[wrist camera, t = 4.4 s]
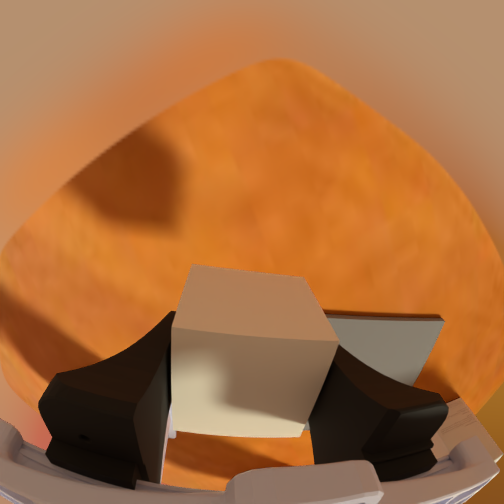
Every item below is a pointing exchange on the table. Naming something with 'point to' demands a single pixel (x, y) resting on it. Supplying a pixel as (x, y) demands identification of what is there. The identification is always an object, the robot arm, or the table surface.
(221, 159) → the table surface
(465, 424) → the supplement box
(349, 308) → the table surface
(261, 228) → the table surface
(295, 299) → the cream cube
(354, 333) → the charcoal mat
